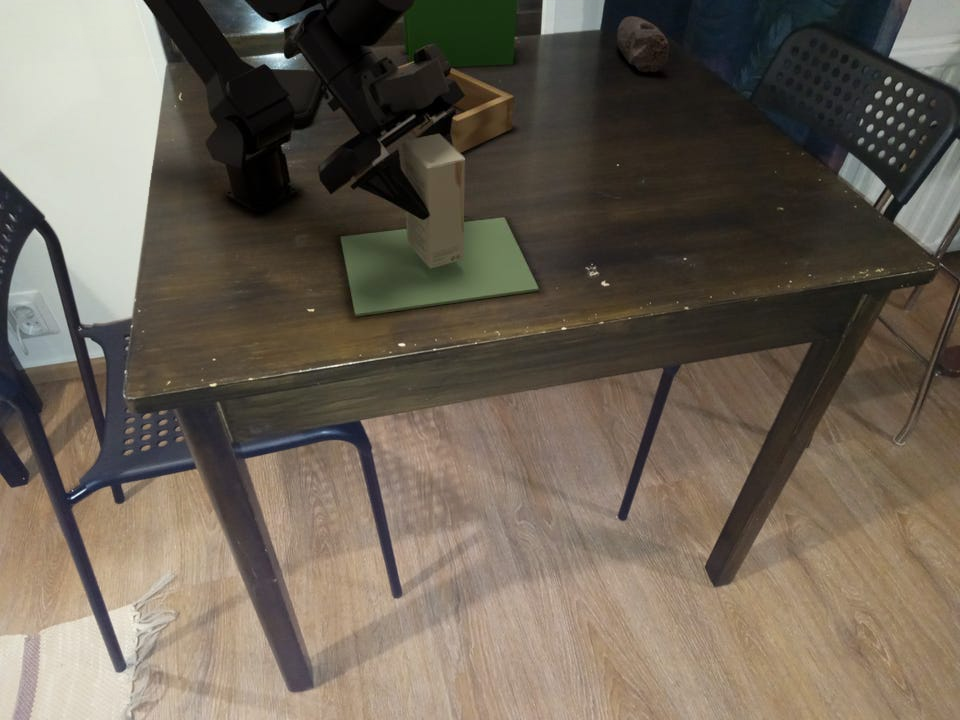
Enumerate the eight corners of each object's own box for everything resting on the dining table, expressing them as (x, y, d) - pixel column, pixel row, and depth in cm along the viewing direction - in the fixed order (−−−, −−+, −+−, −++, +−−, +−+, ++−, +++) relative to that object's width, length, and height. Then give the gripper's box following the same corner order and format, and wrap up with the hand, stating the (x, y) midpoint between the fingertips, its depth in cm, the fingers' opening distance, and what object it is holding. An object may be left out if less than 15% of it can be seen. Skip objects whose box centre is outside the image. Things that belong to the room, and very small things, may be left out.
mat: (355, 317, 72) (355, 314, 72) (340, 239, 82) (340, 236, 82) (538, 291, 76) (538, 288, 76) (504, 219, 86) (504, 217, 85)
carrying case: (317, 130, 100) (332, 85, 111) (314, 109, 98) (329, 66, 108) (242, 128, 100) (264, 84, 110) (238, 107, 98) (261, 64, 108)
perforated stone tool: (605, 45, 126) (612, 4, 121) (633, 44, 126) (640, 3, 122) (636, 80, 115) (644, 37, 110) (665, 78, 116) (675, 35, 111)
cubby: (457, 154, 96) (457, 120, 93) (372, 109, 105) (370, 76, 102) (511, 129, 102) (514, 96, 99) (427, 88, 111) (426, 56, 107)
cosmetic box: (464, 260, 77) (468, 160, 68) (429, 270, 75) (428, 169, 66) (439, 229, 80) (440, 130, 72) (404, 238, 79) (401, 138, 70)
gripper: (328, 58, 57) (442, 216, 61) (450, -6, 68) (539, 131, 72) (271, 123, 65) (375, 258, 69) (389, 56, 76) (472, 175, 81)
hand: (444, 202), depth 73 cm, fingers closed on cosmetic box, 6 cm apart
